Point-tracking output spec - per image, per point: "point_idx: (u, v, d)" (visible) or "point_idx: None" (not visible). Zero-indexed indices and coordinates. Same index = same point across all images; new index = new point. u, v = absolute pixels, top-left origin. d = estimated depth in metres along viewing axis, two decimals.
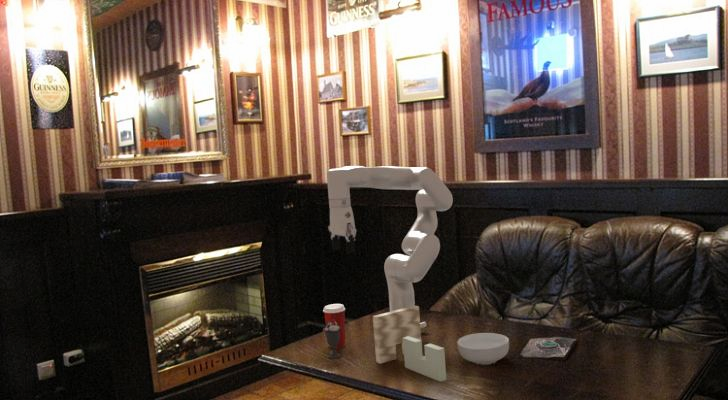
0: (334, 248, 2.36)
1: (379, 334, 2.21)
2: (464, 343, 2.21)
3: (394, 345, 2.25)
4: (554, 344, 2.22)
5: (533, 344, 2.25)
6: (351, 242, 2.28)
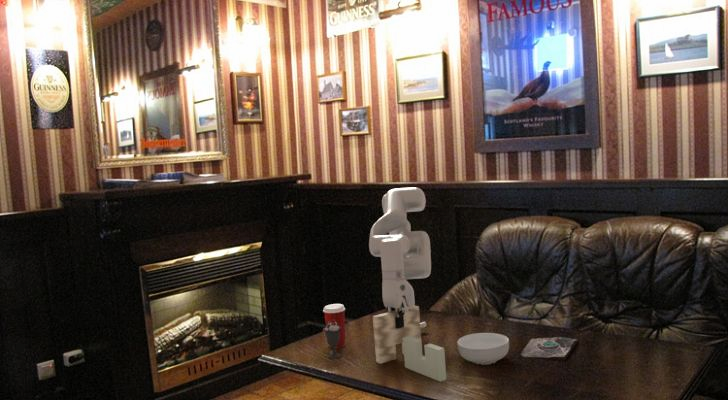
0: None
1: (379, 334, 2.21)
2: (464, 343, 2.21)
3: (394, 345, 2.25)
4: (555, 344, 2.21)
5: (534, 344, 2.25)
6: (400, 317, 2.24)
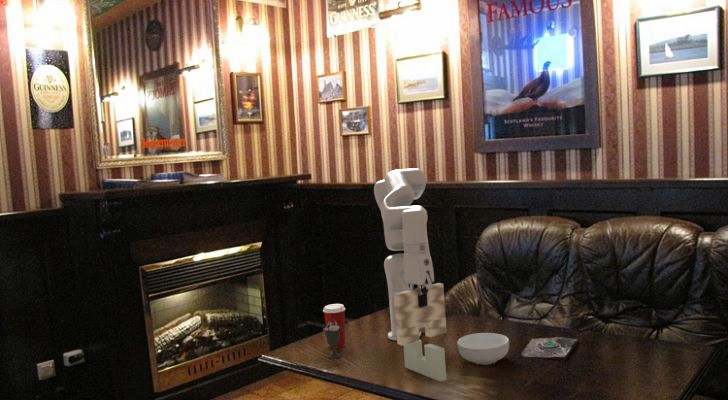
0: None
1: (401, 313, 2.02)
2: (464, 343, 2.21)
3: (417, 325, 2.05)
4: (555, 344, 2.21)
5: (534, 344, 2.25)
6: (424, 295, 2.05)
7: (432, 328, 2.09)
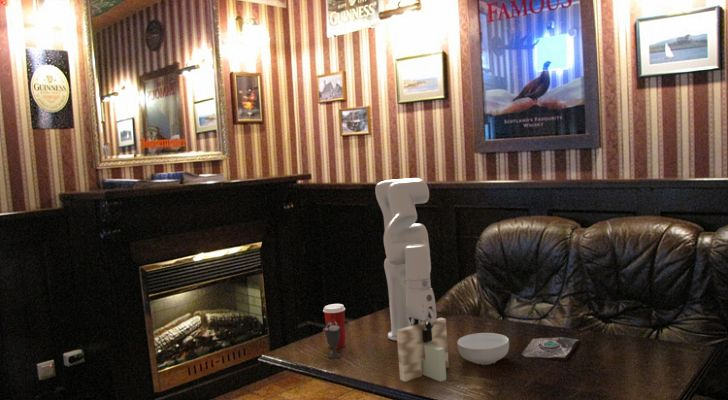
0: None
1: (404, 350, 2.03)
2: (464, 343, 2.21)
3: (419, 361, 2.07)
4: (556, 344, 2.21)
5: (535, 344, 2.25)
6: (428, 330, 2.05)
7: None
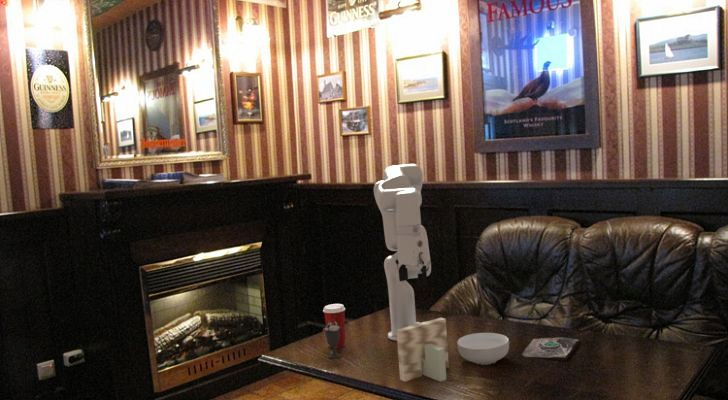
0: (401, 279, 2.13)
1: (404, 350, 2.03)
2: (464, 343, 2.21)
3: (419, 361, 2.07)
4: (556, 344, 2.21)
5: (535, 344, 2.25)
6: (423, 274, 2.04)
7: None
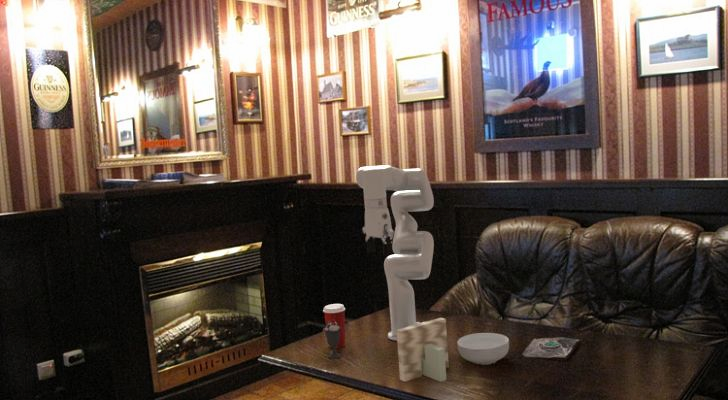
0: (369, 250, 2.28)
1: (404, 350, 2.03)
2: (464, 343, 2.21)
3: (419, 361, 2.07)
4: (557, 344, 2.21)
5: (536, 344, 2.25)
6: (388, 244, 2.20)
7: None
